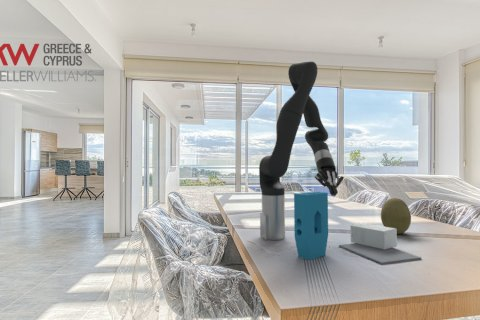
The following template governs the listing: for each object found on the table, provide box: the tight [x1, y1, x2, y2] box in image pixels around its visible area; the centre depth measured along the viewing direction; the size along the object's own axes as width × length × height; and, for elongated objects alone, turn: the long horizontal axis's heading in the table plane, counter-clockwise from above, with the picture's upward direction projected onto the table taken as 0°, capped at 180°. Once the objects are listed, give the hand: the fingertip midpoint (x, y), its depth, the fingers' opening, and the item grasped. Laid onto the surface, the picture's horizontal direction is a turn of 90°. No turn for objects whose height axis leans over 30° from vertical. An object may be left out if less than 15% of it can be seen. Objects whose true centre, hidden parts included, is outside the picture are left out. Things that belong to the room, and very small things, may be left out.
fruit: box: [380, 197, 412, 235], centre depth 124 cm, size 11×11×15 cm
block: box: [293, 191, 329, 261], centre depth 94 cm, size 12×5×20 cm, turn 128°
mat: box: [338, 243, 422, 265], centre depth 97 cm, size 15×20×1 cm
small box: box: [350, 222, 398, 250], centre depth 105 cm, size 8×6×13 cm
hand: (334, 194), depth 118 cm, fingers closed
